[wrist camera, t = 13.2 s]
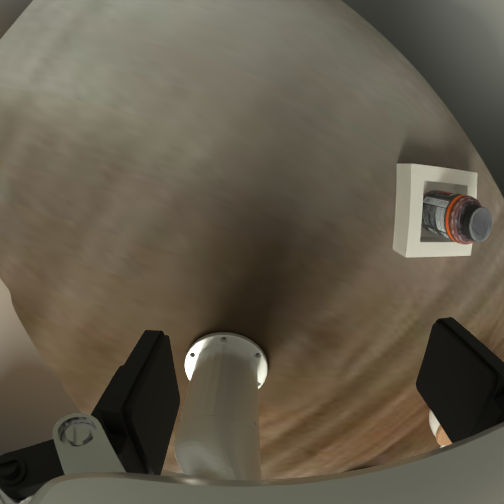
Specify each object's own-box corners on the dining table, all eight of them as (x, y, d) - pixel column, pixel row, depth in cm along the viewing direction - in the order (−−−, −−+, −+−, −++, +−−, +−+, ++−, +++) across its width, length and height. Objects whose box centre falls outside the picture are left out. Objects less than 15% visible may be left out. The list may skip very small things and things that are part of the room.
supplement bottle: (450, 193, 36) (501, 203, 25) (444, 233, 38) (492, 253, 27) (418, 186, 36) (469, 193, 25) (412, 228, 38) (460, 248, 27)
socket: (455, 248, 40) (470, 255, 36) (392, 249, 40) (405, 257, 36) (460, 171, 37) (477, 172, 33) (396, 163, 37) (411, 163, 33)
